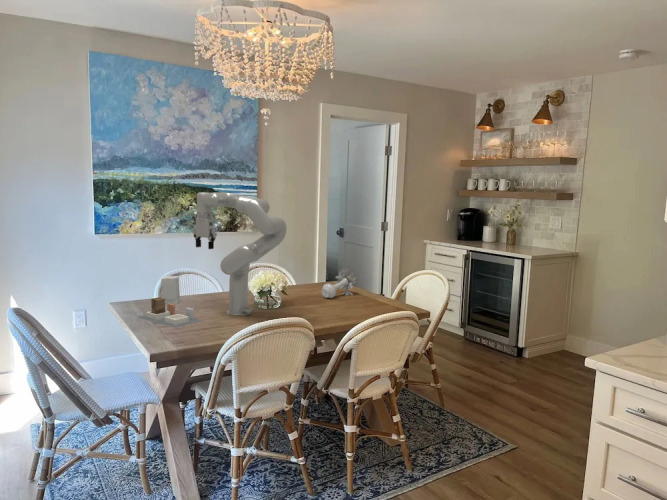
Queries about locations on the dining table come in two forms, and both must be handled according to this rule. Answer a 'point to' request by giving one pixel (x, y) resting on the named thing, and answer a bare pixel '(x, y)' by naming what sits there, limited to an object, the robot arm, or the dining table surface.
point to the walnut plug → (158, 305)
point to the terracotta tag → (171, 308)
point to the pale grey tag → (190, 313)
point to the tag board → (169, 319)
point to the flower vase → (339, 284)
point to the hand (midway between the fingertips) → (204, 248)
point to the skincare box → (170, 289)
